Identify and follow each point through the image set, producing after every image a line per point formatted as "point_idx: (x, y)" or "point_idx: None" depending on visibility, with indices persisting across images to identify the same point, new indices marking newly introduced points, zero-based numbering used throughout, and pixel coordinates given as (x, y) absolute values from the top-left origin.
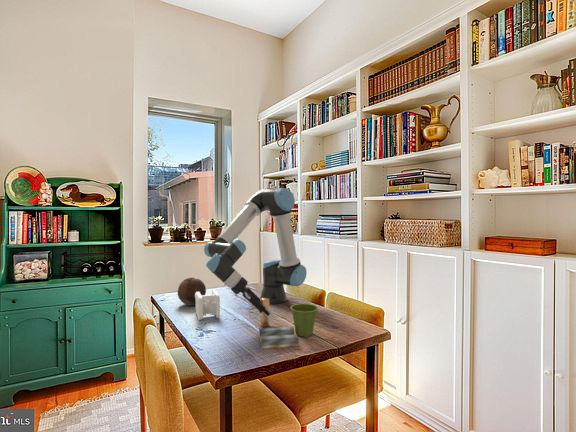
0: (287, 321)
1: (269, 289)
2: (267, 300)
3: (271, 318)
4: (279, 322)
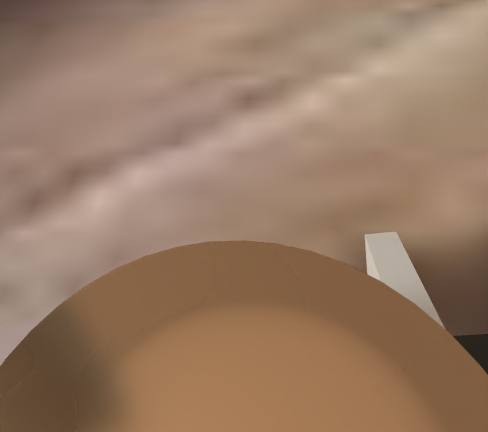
0: (182, 153)
1: None
2: (466, 363)
3: None
4: (200, 237)
